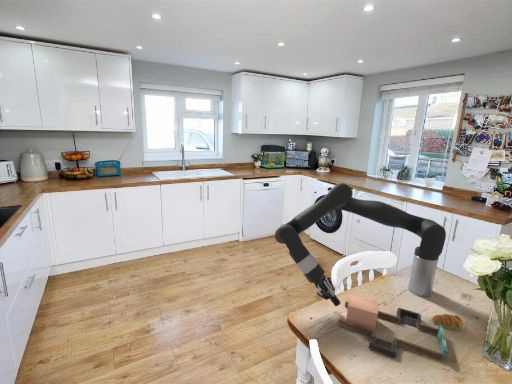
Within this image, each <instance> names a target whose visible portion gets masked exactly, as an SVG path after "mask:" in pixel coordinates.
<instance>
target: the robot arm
mask: <svg viewBox="0 0 512 384" xmlns="http://www.w3.org/2000/svg"><path fill="white" fill-rule="evenodd" d="M333 209H336V210H341V211H345V212H349V213H350V214H351V213H352V214H353V215H358V216H360V217H362V218H365V219H368V220H370V221H373V222H376V223H378V224H381V225H383V226H387V227H390V228H398V229H402V230H405V231H408V232H411V233H413V234H414V235H416V236H418V237H419V238H421V240H420V243H419V246H417V247H416V248H415V249H414V251H413V252H414V253H413V254H414V255H413V258H412V265H411V271H410V275H409V280H408V287H407V288H408V290H409V291H410V293H412V294H414V295H417V296H419V297H430V296H432V292H433V287H434V282H435V279H436V278H435V277H436V272H437V268H438V262H439V257H440V256H441V255H442V253H443V251H444V246H445V241H446V238H447V232H446V229H445V228H444V227H443V226H442V225H441V224H440V223H438V222H436V221H435V220H433V219H429V218H425V217H422V216H418V215H414V214H411V213H409V212H407V211H405V210H403V209H400V208H398V207H395V206H393V205H391V204H389V203H387V202H383V201H380V200H379V201H378V200H367V199H365V200H364V199H358V198H355V197H353V189H352V187H351V186H350V185H348V184H347V183H344V182H343V183H340V182H339V183H336V184H334V186H332V187H331V188H330V189H329V191H328V192H327V194H325V195H324V196H323V197H322V198H320V199H319V200H317V201H316V202H314V203H313V204H312V205H310V206H309V207H307V208H306V209H304V210H303V211H301V212H300V213H298V214H297V215H295V216H294V217H293V218H292V219H291V220H290V221H288V222H286V223H285V224H283V225H281V226H280V227H278V228H277V229H276V230H275V232H274V239H275V241H276V242H277V243H279V244H281V245H285V246H286V248H287V249H288V254H289V256H290V257H291V259H292V260H293V261H294V262H295V264H296V265H297V267H298V269H299V270H300V272H301V273H302V274H303V276H304V277H305V278H306V280H307V281H308V282H309V283H310V284H314V286H315V288H316V289H317V290H318V291H317V292H316V295H317V296H319V297H320V298H323V299H324V300H326V301H328V300H330V301H331V303H333V305H334V306H335V307H338V306H340V305H341V300H340V299H339V298H338V296H337V295H336V292H335V291H336V289H335V287H334V283H333V281H332V279H331V277H330V276H328V277H326V274H325V270H324V268H323V267H322V265H321V264H320V263H319V262H318V261H317V259H316V257H315V256H313V254H311V252H310V251H309V250H308V248H307V247H306V246H305V244H303V241H302V238H301V237H300V235H299V234H301V233H303V232H305V231H306V230H308V229H309V228H311V227H312V226H313V225H314V224H317V222H319V221H320V220H321V219H322V218H323V217H324V216H325V215H326V214H328V213H329V212H330V211H332V210H333Z"/></svg>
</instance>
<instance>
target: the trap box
mask: <svg viewBox="0 0 512 384" xmlns="http://www.w3.org/2000/svg"><path fill="white" fill-rule="evenodd" d="M344 303H345V304H344V307H345V308H348V304H349V300H348V301H347V300H345V302H344ZM377 318H381V319H384V320H387V321H390V322H394V323H397V324H405V325H408V326H412V327H414V328H417V330H419V331H422V332H425V333H429V334H432V335H436V337H437V342H438V347H439V352H438V351H436V350H433V349H430V348H428V347H424V346H421V345H418V344H415V343H413V342H410V341H406V340H404V339H400V338H398V337H395V336H394V337H393V339H392V342H390V341H387V340H384V339H381V338H378V337H375V333H376V330H375V331H374V330H371V329H368V328H365V327H362V326H359V325H356V324H353V323H350V322H347V321H346V320H344V319H340V318H339V320H338V326H339V327H341V328H345V329H348V330H350V331H353V332H356V333H360V334H362V335H365V336H368V337H370V338H369V345H368V349H369V350H370V351H373V352H376V353H379V354H381V355H383V356H387V357H390V358H393V359H394V358H396V357H397V353H398V352H397V350H398V349H397V348H398V347H400V348H403V349H405V350H408V351H411V352H414V353H417V354H420V355H424V356H426V357H429V358H431V359H434V360H437V361H441V362H443V363H446V361H447V358H448V354H449V351H448V350H449V349H448V345H447V341H446V340H447V339H446V336H445V331H444V327H443V326H442V325H441V324H439V325H437V326H438V327H433V326H430V325H427V324H424V323H422V314H421V313H419V312H415V311H412V310H408V309H404V308H401V307H397V309H396V315H394V314H391V313H387V312H383V311H380V310H378V315H377Z"/></svg>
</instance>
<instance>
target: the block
mask: <svg viewBox="0 0 512 384" xmlns="http://www.w3.org/2000/svg"><path fill="white" fill-rule="evenodd" d="M348 302H349V304H348V307H347V311H346V319H345V321H347V322H350V323H353V324H356V325H359V326H362V327H365V328H368V329H371V330H374V331H375V332H376V327H377V320H378V317H377V315H378V311H379V301H376V300H373V299H368V298H365V297H361V296H357V295H354V294H350V295H349V299H348Z"/></svg>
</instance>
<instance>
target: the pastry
mask: <svg viewBox="0 0 512 384" xmlns="http://www.w3.org/2000/svg"><path fill="white" fill-rule="evenodd" d="M431 320H432V321H433V323H434V324H436V325H437V326H439V324H441V325H442V326H443V328H446V329H448V330H454V331H460V332H462V331H463V330H464V323H463V320H462V319H461V317H460V316H458V315H457V314H456V315H453V314H449V313H448V314H447V313H443V314H437V315H434V316H433V317H432V319H431Z"/></svg>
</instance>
